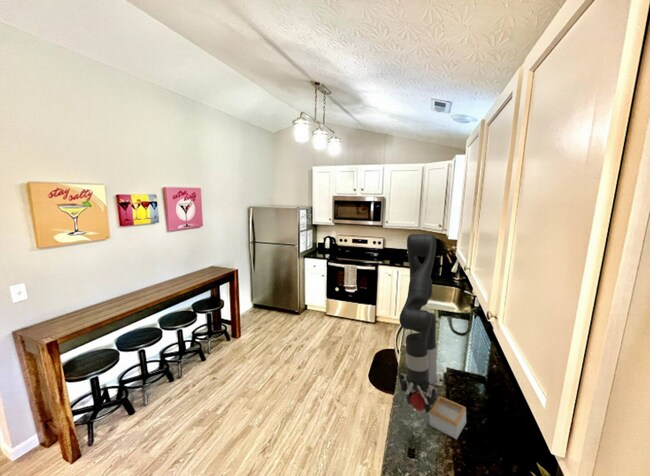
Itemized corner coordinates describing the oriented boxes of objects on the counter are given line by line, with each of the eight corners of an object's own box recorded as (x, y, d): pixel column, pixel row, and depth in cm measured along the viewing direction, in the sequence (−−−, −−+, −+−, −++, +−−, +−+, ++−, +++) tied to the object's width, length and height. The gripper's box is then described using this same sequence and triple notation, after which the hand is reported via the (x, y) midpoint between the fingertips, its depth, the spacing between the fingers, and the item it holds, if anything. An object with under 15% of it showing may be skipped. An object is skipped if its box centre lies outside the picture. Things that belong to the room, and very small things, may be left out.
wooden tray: (443, 406, 115) (442, 391, 114) (468, 418, 108) (468, 402, 107) (429, 425, 106) (429, 409, 105) (456, 439, 99) (456, 423, 98)
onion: (407, 410, 99) (406, 390, 98) (415, 401, 103) (414, 382, 102) (422, 418, 95) (422, 398, 94) (430, 409, 99) (429, 389, 98)
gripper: (442, 366, 94) (443, 410, 96) (403, 352, 104) (405, 392, 107) (432, 377, 89) (434, 423, 91) (393, 361, 99) (395, 403, 101)
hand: (418, 406), depth 99 cm, fingers closed on onion, 6 cm apart
